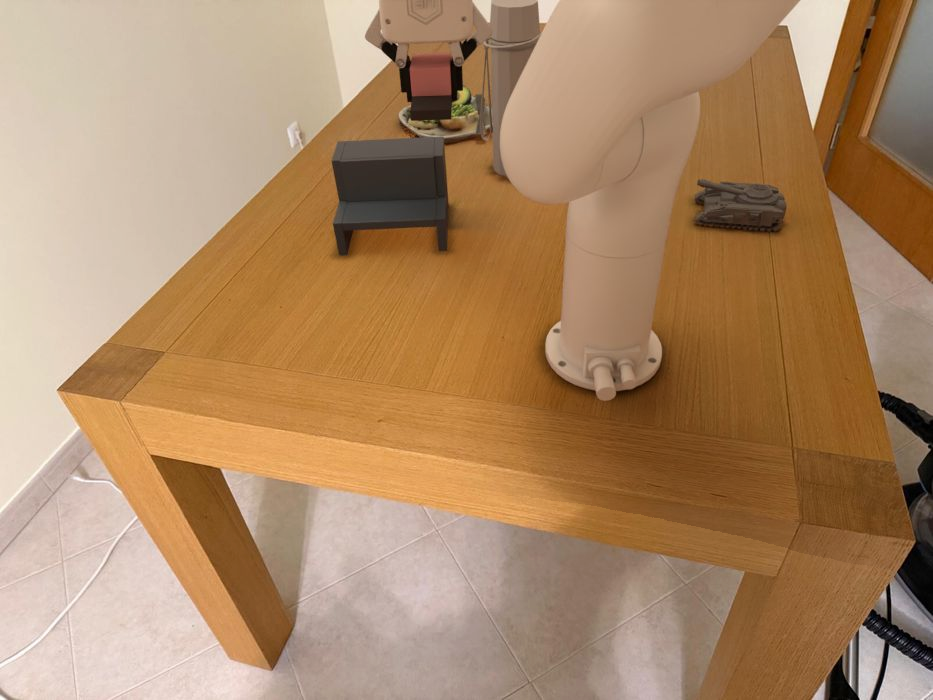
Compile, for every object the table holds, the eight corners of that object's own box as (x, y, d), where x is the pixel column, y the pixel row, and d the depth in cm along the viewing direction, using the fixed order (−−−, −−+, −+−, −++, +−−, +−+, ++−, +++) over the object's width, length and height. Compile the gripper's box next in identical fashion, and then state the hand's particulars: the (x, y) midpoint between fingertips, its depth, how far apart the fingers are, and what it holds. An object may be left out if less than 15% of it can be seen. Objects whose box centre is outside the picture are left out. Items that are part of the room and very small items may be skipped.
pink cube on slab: (451, 119, 77) (449, 80, 74) (410, 121, 77) (407, 82, 75) (452, 89, 84) (450, 52, 81) (415, 90, 84) (412, 53, 81)
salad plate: (524, 133, 120) (524, 107, 117) (431, 157, 114) (429, 131, 111) (474, 98, 133) (473, 74, 130) (389, 118, 127) (386, 93, 124)
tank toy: (691, 229, 94) (698, 195, 90) (691, 196, 100) (697, 163, 97) (785, 237, 91) (795, 202, 88) (778, 202, 98) (787, 168, 95)
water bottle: (542, 161, 111) (546, -7, 95) (532, 184, 106) (535, 9, 89) (487, 157, 113) (482, -8, 97) (475, 179, 108) (468, 8, 91)
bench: (447, 251, 92) (441, 176, 85) (339, 255, 93) (324, 181, 86) (448, 206, 101) (443, 136, 94) (350, 211, 102) (337, 141, 95)
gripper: (333, -68, 67) (359, 112, 80) (504, -75, 67) (504, 107, 79) (344, -83, 73) (366, 87, 85) (502, -89, 72) (502, 83, 85)
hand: (432, 95), depth 82 cm, fingers closed on pink cube on slab, 4 cm apart
